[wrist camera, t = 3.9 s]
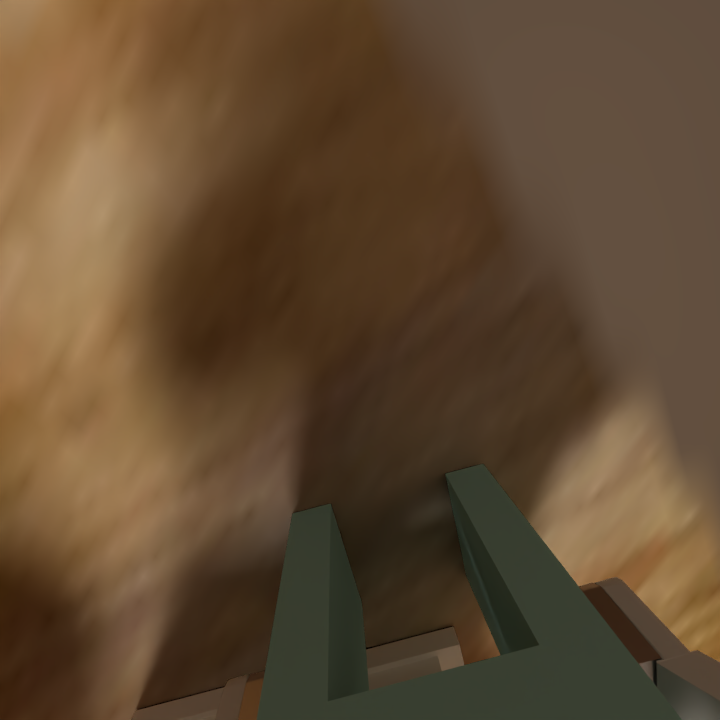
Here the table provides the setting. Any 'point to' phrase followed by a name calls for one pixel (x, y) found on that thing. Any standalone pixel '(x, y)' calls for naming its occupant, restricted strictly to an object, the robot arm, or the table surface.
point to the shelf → (384, 665)
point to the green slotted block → (500, 609)
